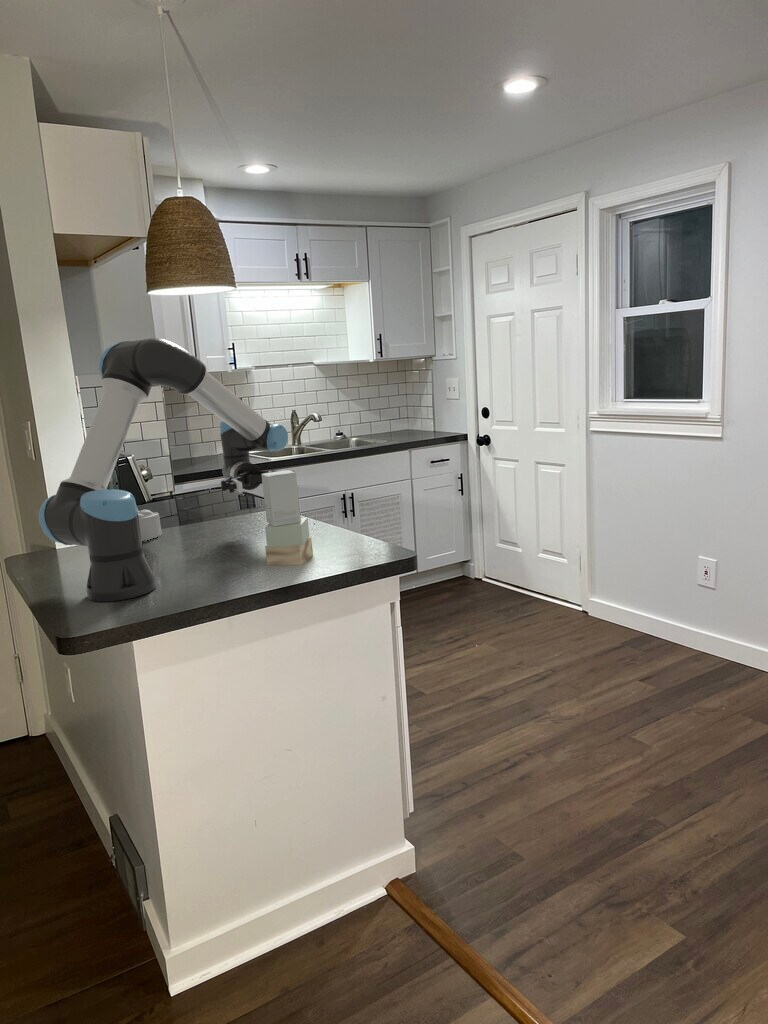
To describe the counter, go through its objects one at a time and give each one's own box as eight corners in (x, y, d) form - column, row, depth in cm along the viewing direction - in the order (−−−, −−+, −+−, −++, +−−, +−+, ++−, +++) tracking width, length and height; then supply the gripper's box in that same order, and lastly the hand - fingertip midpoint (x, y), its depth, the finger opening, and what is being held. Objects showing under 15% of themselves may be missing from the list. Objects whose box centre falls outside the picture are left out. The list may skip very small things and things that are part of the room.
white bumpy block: (116, 539, 236) (112, 512, 235) (159, 532, 241) (155, 506, 240) (120, 545, 227) (115, 517, 225) (164, 538, 232) (160, 510, 230)
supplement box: (302, 522, 188) (296, 472, 186) (272, 527, 186) (266, 476, 183) (294, 518, 195) (289, 469, 193) (266, 522, 193) (260, 473, 190)
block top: (303, 544, 187) (301, 524, 186) (267, 547, 187) (265, 527, 186) (309, 536, 195) (307, 517, 194) (275, 538, 196) (273, 519, 195)
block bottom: (301, 565, 187) (299, 545, 186) (267, 566, 189) (265, 546, 188) (313, 556, 195) (311, 537, 194) (280, 556, 198) (278, 538, 197)
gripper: (289, 482, 222) (313, 491, 203) (204, 494, 212) (220, 505, 193) (286, 456, 220) (310, 463, 201) (200, 468, 211) (217, 476, 192)
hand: (266, 483), depth 197 cm, fingers open, 13 cm apart
